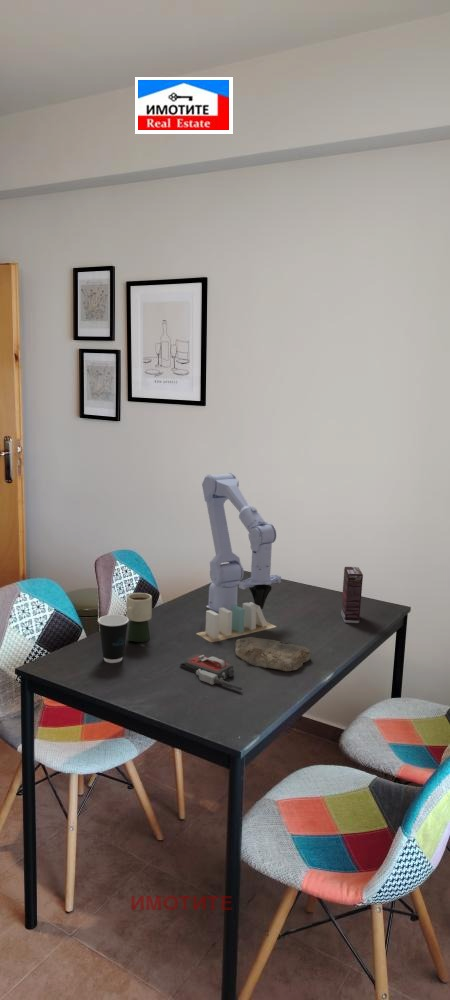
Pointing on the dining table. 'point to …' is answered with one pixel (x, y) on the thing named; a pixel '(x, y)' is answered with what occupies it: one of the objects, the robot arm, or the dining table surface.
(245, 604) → the domino
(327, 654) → the dining table surface
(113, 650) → the dixie cup
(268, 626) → the oak board
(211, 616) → the domino
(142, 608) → the character mug
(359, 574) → the supplement box
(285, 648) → the rough brown rock
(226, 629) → the domino
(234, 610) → the teal domino
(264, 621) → the domino
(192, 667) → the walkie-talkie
